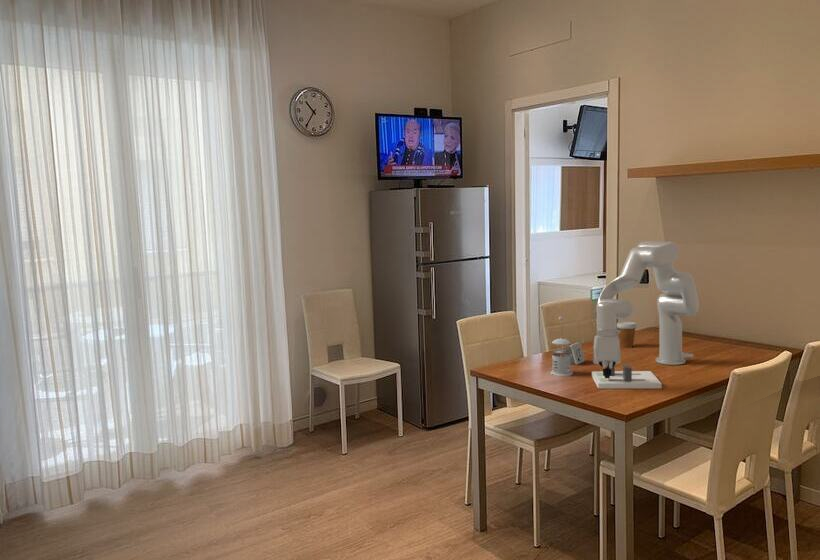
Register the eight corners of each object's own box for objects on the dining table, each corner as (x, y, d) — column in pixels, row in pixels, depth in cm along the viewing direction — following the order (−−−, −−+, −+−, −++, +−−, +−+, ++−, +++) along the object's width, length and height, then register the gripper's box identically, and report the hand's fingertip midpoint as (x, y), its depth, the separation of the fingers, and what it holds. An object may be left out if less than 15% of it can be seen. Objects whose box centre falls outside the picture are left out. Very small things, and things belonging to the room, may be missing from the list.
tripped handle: (629, 377, 258) (629, 365, 258) (631, 381, 253) (631, 368, 253) (623, 377, 258) (622, 365, 258) (625, 381, 254) (625, 368, 253)
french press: (550, 376, 274) (549, 318, 272) (549, 369, 286) (548, 314, 283) (574, 376, 273) (573, 318, 270) (572, 369, 284) (571, 313, 281)
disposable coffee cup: (618, 343, 331) (618, 321, 330) (637, 344, 327) (637, 321, 326) (615, 347, 323) (615, 324, 322) (635, 348, 319) (635, 325, 317)
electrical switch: (577, 365, 291) (575, 345, 290) (566, 365, 294) (564, 345, 293) (585, 361, 298) (583, 341, 297) (575, 361, 301) (573, 341, 301)
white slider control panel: (650, 375, 268) (650, 358, 267) (661, 388, 249) (661, 369, 249) (591, 375, 272) (591, 358, 271) (598, 388, 253) (598, 369, 252)
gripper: (624, 330, 258) (624, 375, 259) (586, 331, 260) (586, 375, 262) (627, 334, 250) (628, 380, 252) (588, 334, 252) (589, 380, 254)
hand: (607, 377), depth 257 cm, fingers closed
